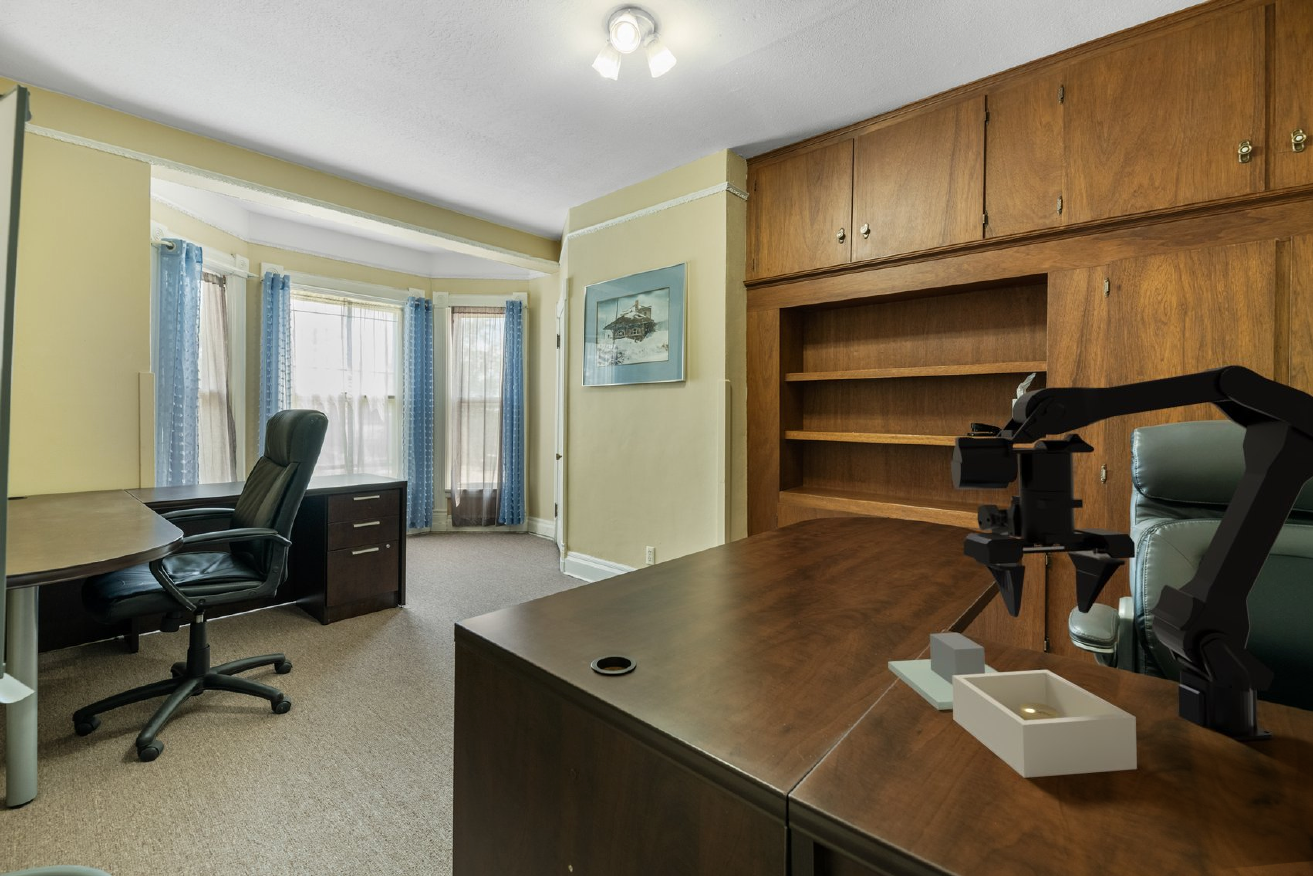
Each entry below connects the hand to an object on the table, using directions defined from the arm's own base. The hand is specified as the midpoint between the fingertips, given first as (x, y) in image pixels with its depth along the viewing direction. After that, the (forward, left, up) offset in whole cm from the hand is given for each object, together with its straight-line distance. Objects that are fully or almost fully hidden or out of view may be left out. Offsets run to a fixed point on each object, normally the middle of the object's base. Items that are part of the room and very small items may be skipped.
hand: (1048, 614), depth 73 cm
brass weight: (+7, +7, -11) cm, 15 cm away
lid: (+8, -7, -11) cm, 15 cm away
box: (+8, +8, -12) cm, 16 cm away
